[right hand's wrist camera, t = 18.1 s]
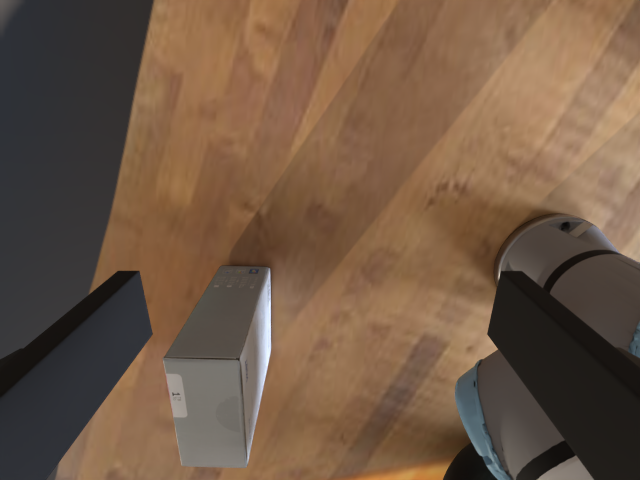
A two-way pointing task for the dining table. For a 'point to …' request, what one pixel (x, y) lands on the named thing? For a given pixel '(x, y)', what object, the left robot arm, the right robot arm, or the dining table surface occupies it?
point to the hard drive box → (221, 368)
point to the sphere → (468, 466)
